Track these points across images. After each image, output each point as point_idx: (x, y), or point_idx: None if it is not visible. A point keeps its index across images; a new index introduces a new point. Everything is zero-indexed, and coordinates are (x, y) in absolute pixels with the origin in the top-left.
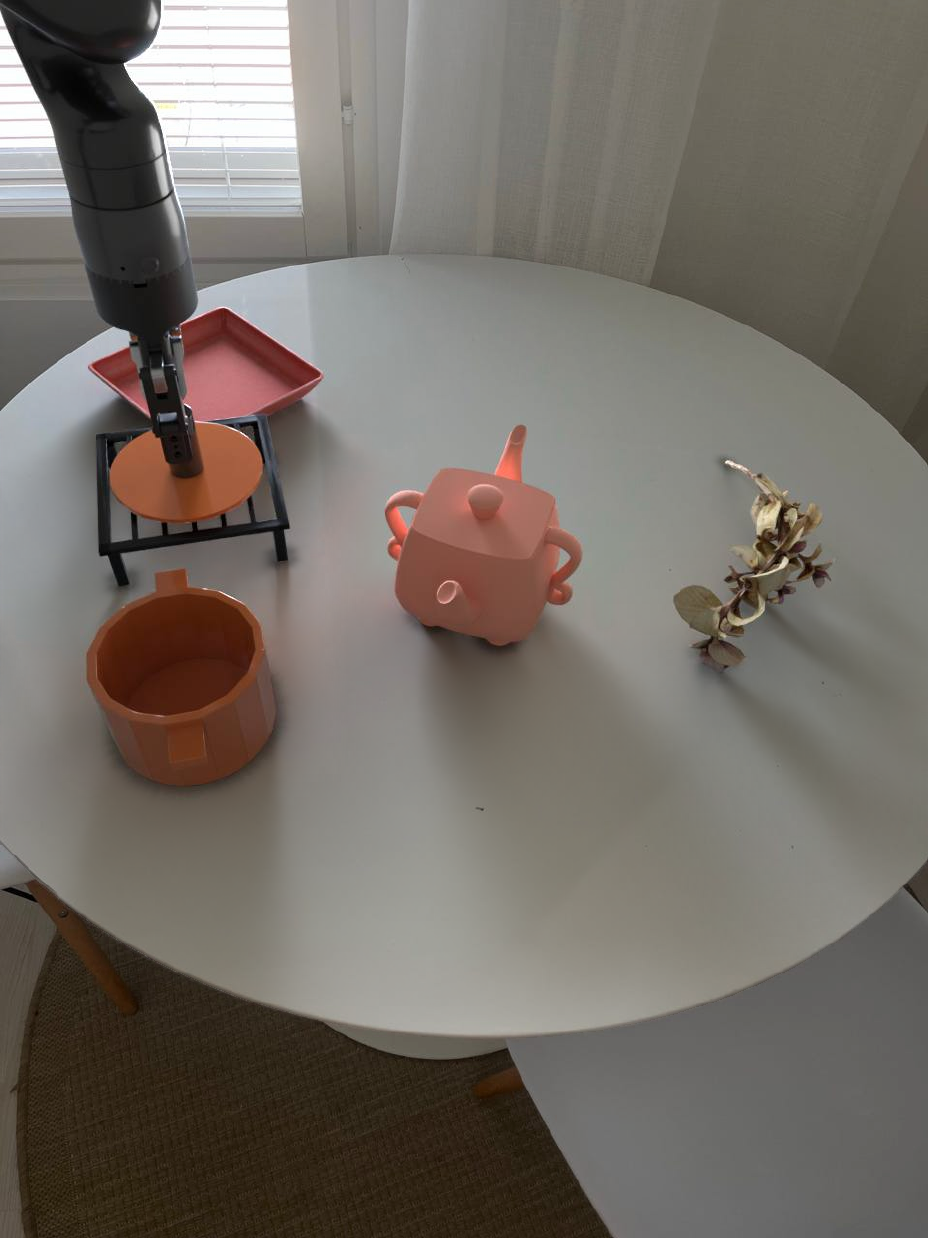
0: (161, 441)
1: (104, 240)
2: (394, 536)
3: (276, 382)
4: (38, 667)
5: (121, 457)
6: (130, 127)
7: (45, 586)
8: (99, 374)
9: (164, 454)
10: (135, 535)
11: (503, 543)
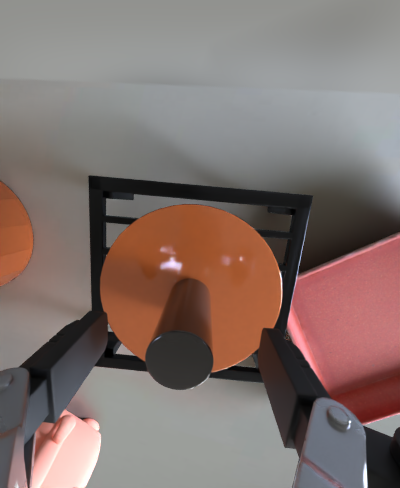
0: (59, 340)
1: None
2: (38, 449)
3: (357, 376)
4: (41, 107)
5: (235, 224)
6: None
7: (140, 120)
8: None
9: (80, 319)
10: (107, 220)
11: None
